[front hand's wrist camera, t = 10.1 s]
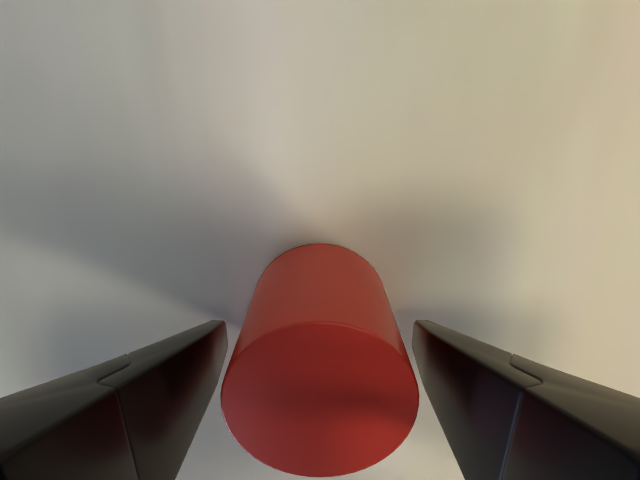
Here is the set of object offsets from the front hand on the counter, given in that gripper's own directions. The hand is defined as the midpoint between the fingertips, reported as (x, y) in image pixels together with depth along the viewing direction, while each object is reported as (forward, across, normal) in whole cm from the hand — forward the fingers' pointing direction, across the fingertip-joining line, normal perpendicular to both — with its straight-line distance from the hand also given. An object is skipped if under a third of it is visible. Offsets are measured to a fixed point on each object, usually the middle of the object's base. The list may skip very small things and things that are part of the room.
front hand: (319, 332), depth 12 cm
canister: (+2, 0, 0) cm, 2 cm away
